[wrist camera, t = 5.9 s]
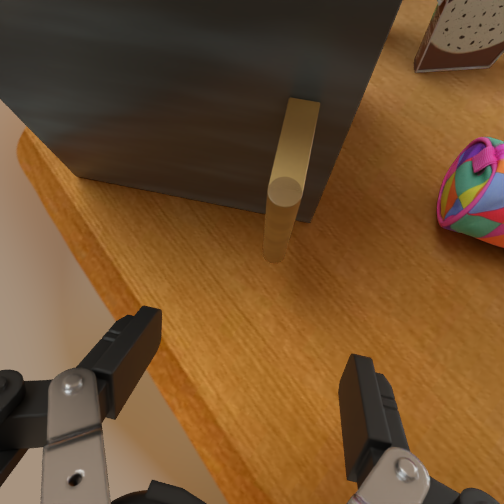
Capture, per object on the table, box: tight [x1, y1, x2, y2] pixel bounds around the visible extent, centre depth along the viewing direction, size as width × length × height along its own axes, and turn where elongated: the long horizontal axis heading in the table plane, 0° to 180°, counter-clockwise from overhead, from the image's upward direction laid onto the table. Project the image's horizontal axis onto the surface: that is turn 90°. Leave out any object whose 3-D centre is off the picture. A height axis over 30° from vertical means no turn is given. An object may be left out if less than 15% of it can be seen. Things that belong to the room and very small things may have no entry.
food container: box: [414, 0, 504, 73], centre depth 36 cm, size 12×6×10 cm, turn 94°
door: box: [0, 0, 402, 264], centre depth 22 cm, size 8×26×24 cm, turn 77°
